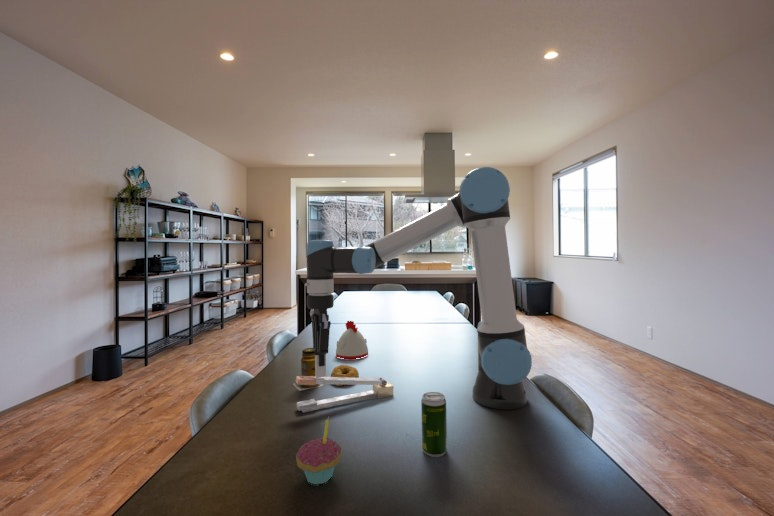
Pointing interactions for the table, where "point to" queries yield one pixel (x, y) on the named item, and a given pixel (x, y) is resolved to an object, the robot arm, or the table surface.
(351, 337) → the kitchen timer
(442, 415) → the beer can
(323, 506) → the table surface
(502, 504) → the table surface
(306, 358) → the condiment
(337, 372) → the bagel
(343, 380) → the bar
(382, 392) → the base
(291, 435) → the table surface
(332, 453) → the cupcake
